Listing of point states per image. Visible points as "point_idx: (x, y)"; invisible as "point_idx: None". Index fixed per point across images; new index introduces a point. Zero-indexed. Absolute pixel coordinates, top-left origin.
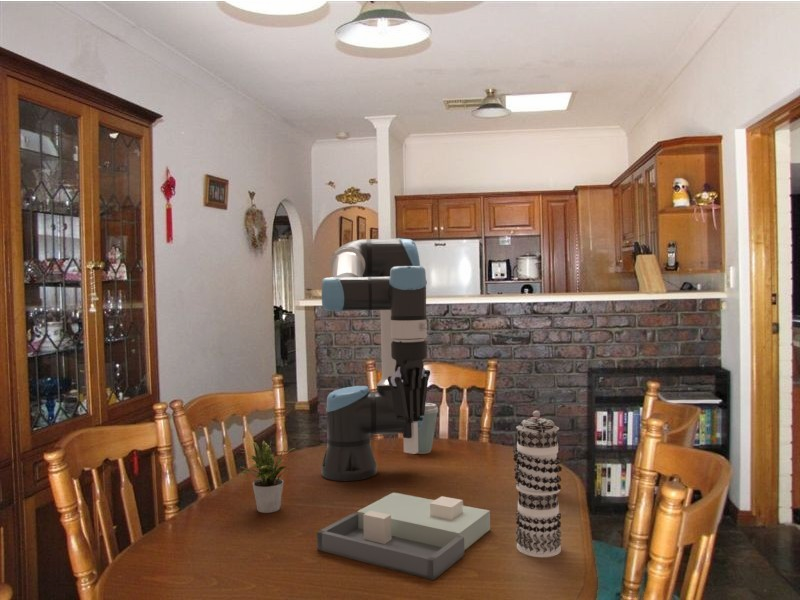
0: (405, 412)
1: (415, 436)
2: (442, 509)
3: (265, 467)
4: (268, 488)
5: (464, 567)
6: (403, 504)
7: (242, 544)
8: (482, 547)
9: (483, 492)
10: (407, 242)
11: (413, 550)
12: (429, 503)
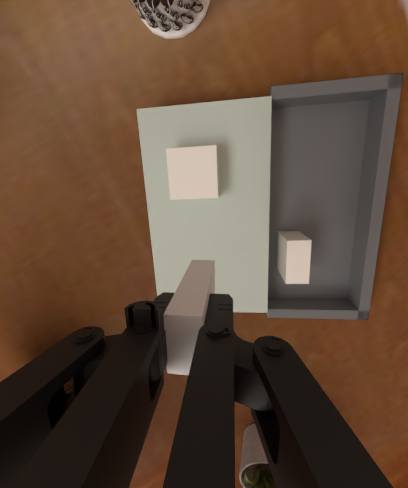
0: (304, 386)
1: (199, 283)
2: (217, 168)
3: None
4: None
5: (310, 70)
6: None
7: (381, 394)
8: (221, 89)
9: (20, 216)
10: None
11: (299, 177)
12: (169, 229)
